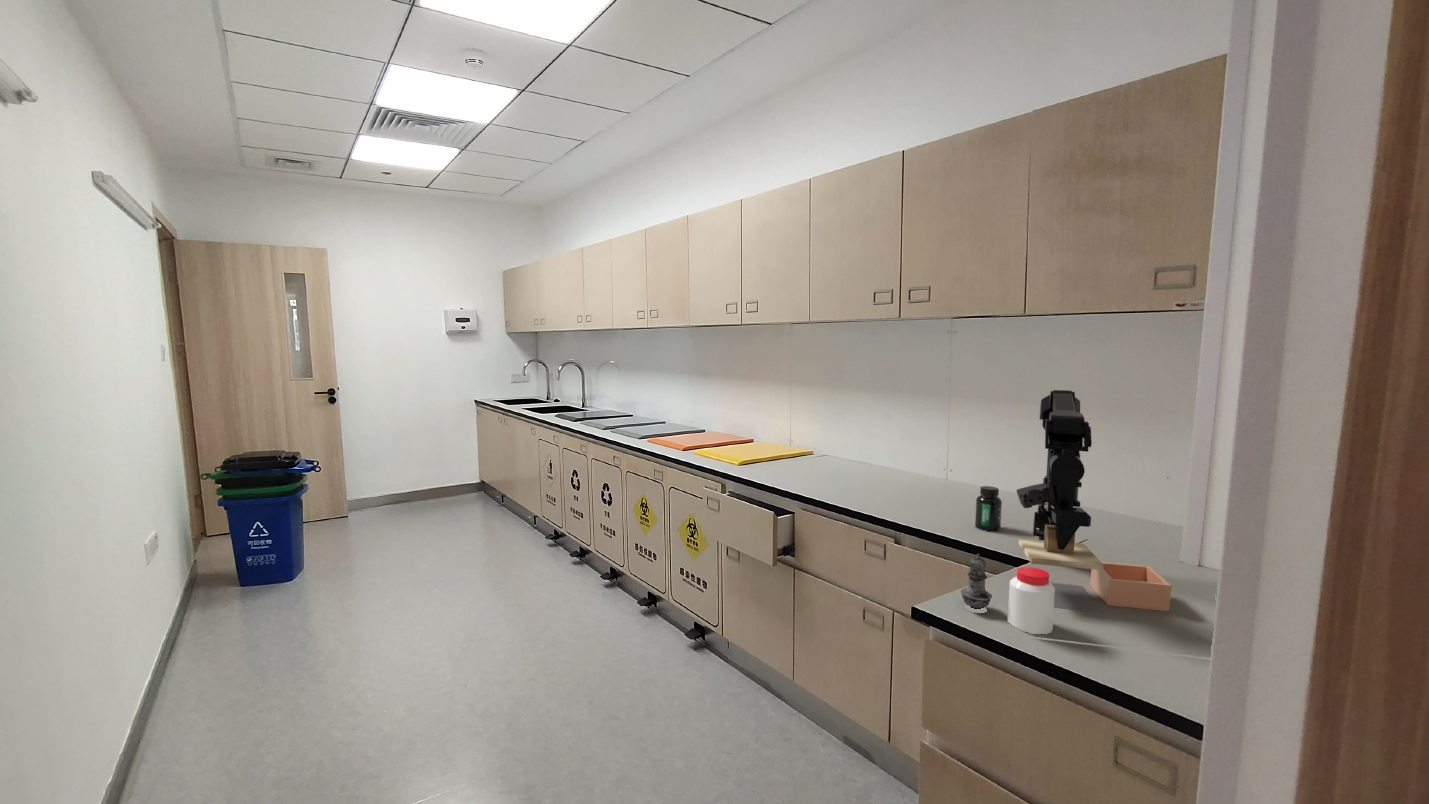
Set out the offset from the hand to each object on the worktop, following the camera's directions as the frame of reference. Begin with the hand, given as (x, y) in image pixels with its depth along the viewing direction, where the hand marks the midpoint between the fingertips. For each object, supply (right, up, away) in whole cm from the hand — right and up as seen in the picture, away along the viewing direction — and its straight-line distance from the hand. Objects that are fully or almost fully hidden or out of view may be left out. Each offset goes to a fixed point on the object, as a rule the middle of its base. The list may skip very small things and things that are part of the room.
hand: (1058, 546), depth 131 cm
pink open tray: (+15, -11, 0) cm, 19 cm away
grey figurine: (-20, -12, -6) cm, 24 cm away
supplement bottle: (+7, -6, +49) cm, 50 cm away
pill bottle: (-13, -13, -13) cm, 22 cm away
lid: (0, -2, 0) cm, 2 cm away
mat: (0, -11, +1) cm, 11 cm away
